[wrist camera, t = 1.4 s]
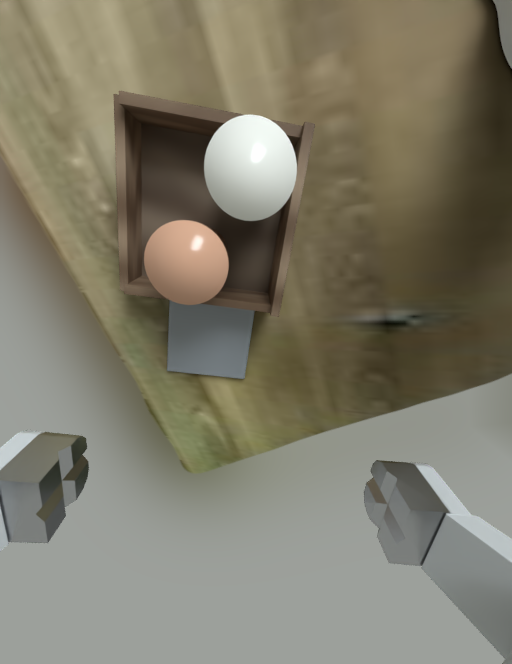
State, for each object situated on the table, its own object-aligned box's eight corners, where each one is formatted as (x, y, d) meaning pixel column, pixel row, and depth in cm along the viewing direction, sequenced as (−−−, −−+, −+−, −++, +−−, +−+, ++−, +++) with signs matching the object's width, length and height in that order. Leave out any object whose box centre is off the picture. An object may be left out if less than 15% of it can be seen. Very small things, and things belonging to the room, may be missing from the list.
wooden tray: (134, 114, 26) (101, 82, 20) (299, 144, 28) (315, 123, 22) (136, 280, 32) (111, 295, 26) (272, 299, 34) (278, 316, 28)
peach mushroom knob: (175, 215, 29) (144, 213, 20) (236, 224, 30) (232, 227, 21) (173, 275, 32) (144, 299, 22) (229, 283, 32) (223, 309, 23)
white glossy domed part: (220, 144, 27) (208, 105, 18) (285, 156, 28) (305, 124, 18) (214, 215, 29) (200, 213, 20) (274, 224, 30) (287, 227, 21)
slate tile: (171, 293, 33) (169, 295, 32) (255, 304, 34) (255, 306, 33) (168, 367, 37) (167, 370, 36) (244, 375, 38) (244, 378, 37)
